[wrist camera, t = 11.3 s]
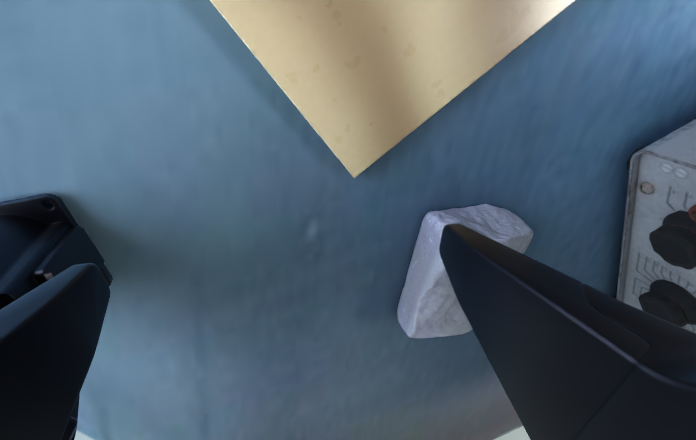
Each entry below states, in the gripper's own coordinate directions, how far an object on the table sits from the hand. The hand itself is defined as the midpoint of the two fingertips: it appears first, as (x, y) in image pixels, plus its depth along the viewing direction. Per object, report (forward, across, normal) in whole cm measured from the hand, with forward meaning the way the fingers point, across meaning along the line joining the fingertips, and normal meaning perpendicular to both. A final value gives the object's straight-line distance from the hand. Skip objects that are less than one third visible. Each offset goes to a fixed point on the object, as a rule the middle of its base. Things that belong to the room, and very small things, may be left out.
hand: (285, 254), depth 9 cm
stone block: (+13, -14, +14) cm, 24 cm away
